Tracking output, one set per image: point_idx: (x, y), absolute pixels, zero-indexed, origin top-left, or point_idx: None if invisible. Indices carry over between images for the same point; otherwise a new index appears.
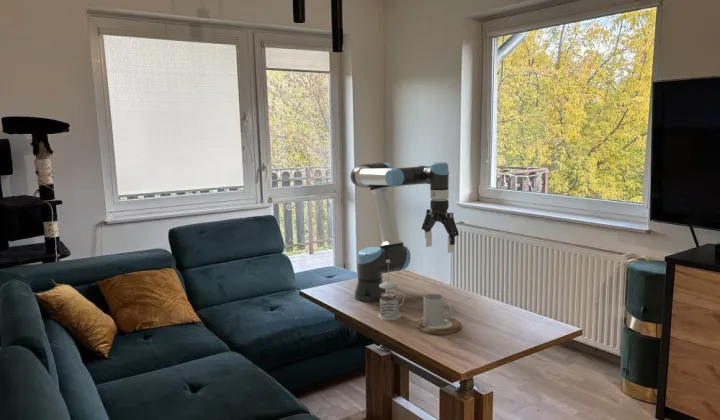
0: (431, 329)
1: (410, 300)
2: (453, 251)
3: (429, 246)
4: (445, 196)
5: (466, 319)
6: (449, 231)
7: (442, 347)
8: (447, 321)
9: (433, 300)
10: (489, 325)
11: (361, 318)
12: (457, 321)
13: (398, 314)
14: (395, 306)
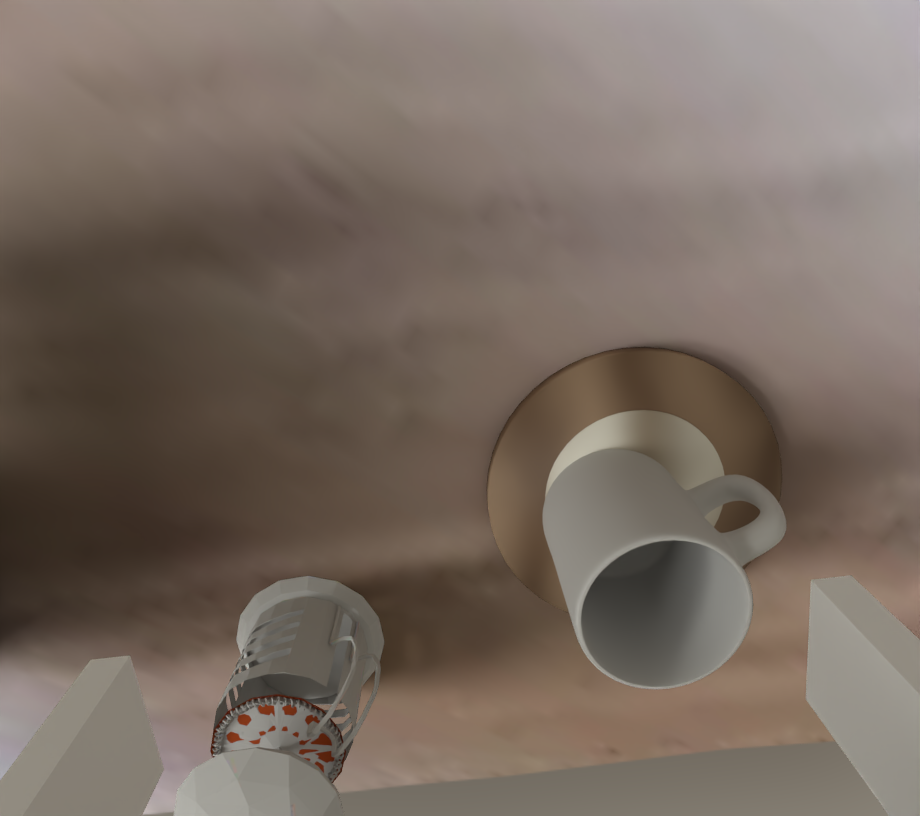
0: None
1: (78, 367)
2: (856, 592)
3: (146, 717)
4: None
5: (644, 250)
6: None
7: None
8: (645, 428)
9: (727, 660)
10: (829, 183)
11: None
12: (683, 369)
13: (338, 602)
14: (356, 680)
